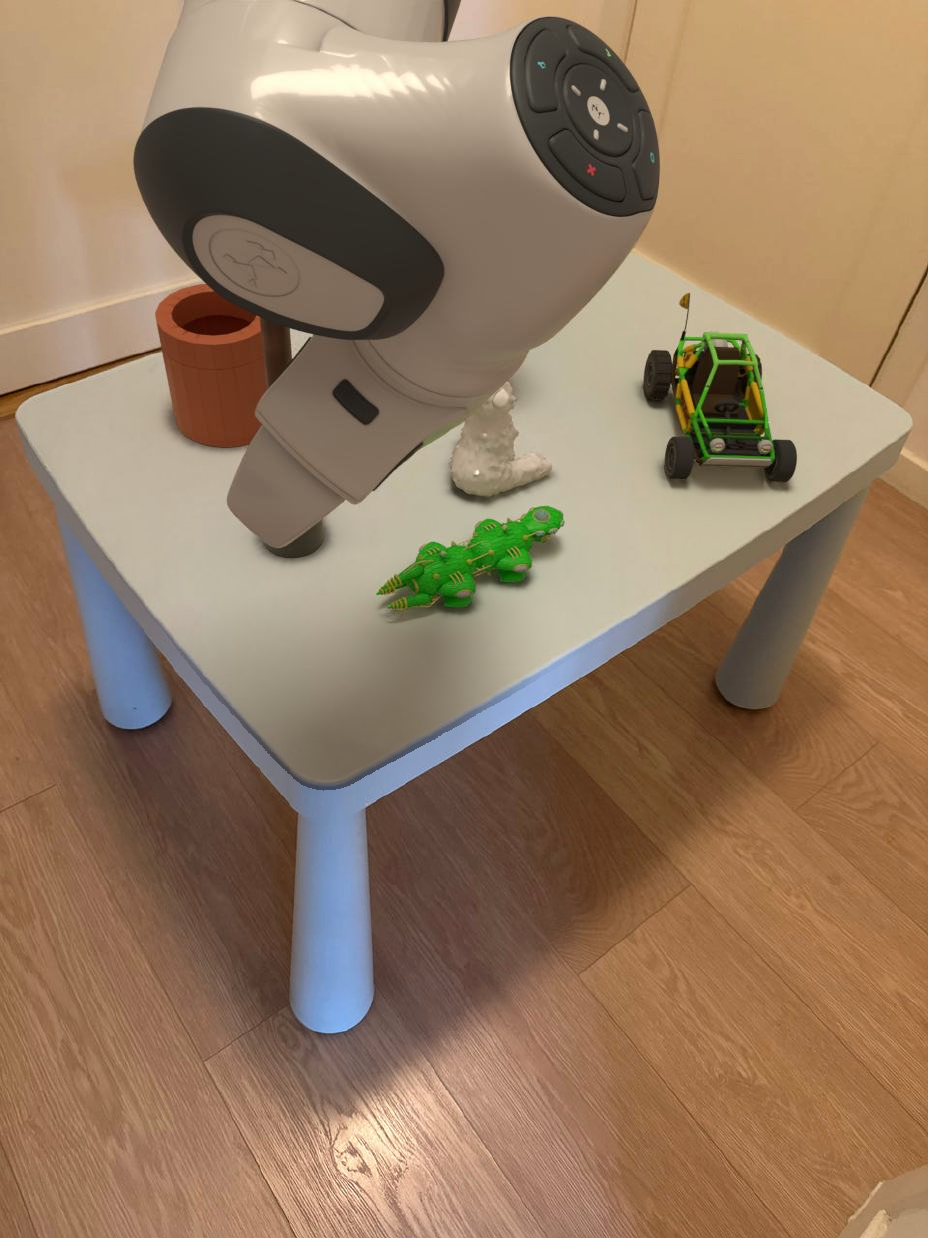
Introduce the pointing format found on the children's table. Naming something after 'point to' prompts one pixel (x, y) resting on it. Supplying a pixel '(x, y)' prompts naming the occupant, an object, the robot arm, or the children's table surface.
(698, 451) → the motor vehicle
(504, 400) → the sitting furry creature
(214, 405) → the terracotta flower pot
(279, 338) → the rod on round base
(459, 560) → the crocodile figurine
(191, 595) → the children's table surface
